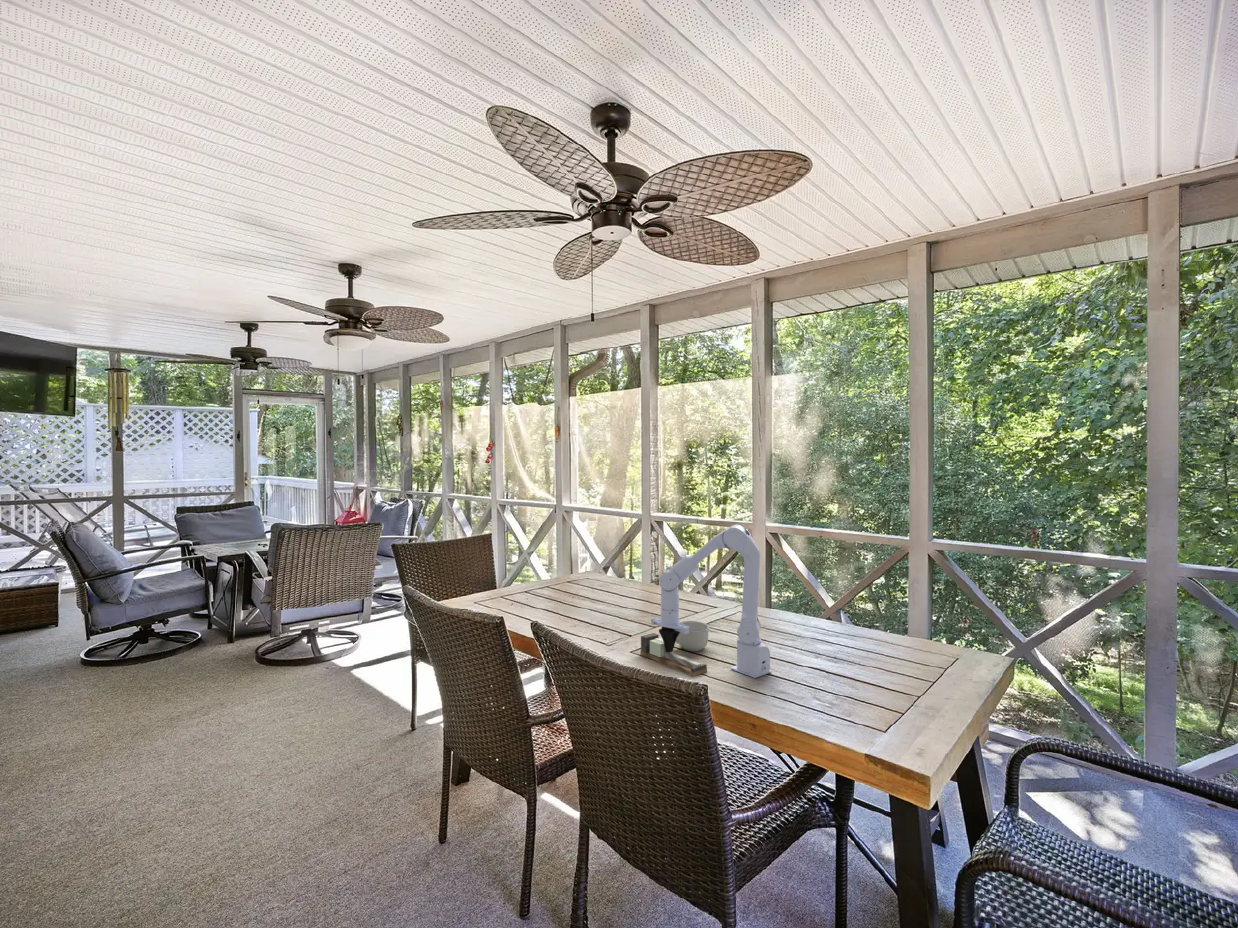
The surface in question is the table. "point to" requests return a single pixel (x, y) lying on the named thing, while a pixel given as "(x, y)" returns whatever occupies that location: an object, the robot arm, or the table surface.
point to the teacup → (694, 636)
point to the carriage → (657, 647)
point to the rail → (672, 664)
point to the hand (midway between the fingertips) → (669, 651)
